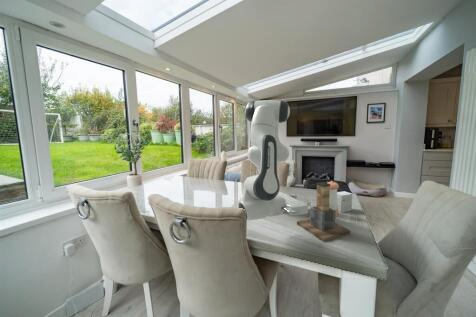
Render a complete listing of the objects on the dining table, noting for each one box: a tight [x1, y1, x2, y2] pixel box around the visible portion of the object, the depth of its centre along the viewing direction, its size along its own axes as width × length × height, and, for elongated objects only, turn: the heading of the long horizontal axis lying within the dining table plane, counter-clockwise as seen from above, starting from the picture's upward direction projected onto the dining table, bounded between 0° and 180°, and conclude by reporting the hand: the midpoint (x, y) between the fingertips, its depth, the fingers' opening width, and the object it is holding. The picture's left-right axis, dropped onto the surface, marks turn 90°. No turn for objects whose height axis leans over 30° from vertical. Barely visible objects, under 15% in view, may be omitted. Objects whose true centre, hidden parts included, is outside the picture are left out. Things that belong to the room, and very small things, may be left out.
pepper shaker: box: [326, 180, 340, 217], centre depth 112 cm, size 7×7×19 cm
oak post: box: [315, 181, 330, 212], centre depth 95 cm, size 4×4×21 cm
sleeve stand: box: [296, 205, 351, 243], centre depth 96 cm, size 18×16×10 cm
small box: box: [337, 190, 353, 214], centre depth 117 cm, size 8×6×10 cm
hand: (302, 199), depth 90 cm, fingers open, 8 cm apart
